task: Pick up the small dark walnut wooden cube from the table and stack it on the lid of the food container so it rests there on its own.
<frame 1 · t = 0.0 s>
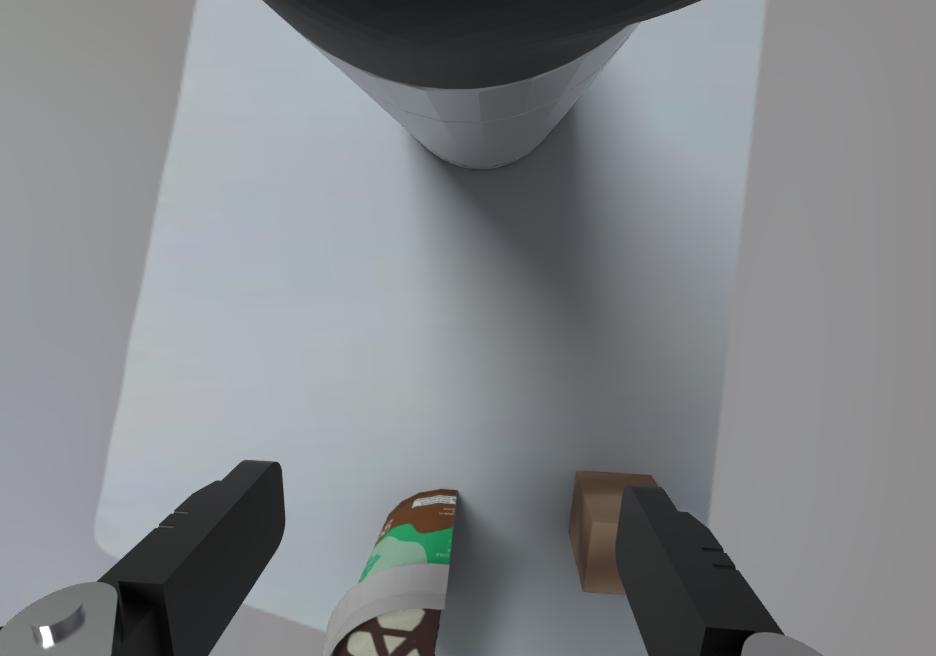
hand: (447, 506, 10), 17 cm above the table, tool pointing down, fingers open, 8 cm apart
walnut cube: (608, 503, 30), on the table
food container: (407, 536, 32), on the table
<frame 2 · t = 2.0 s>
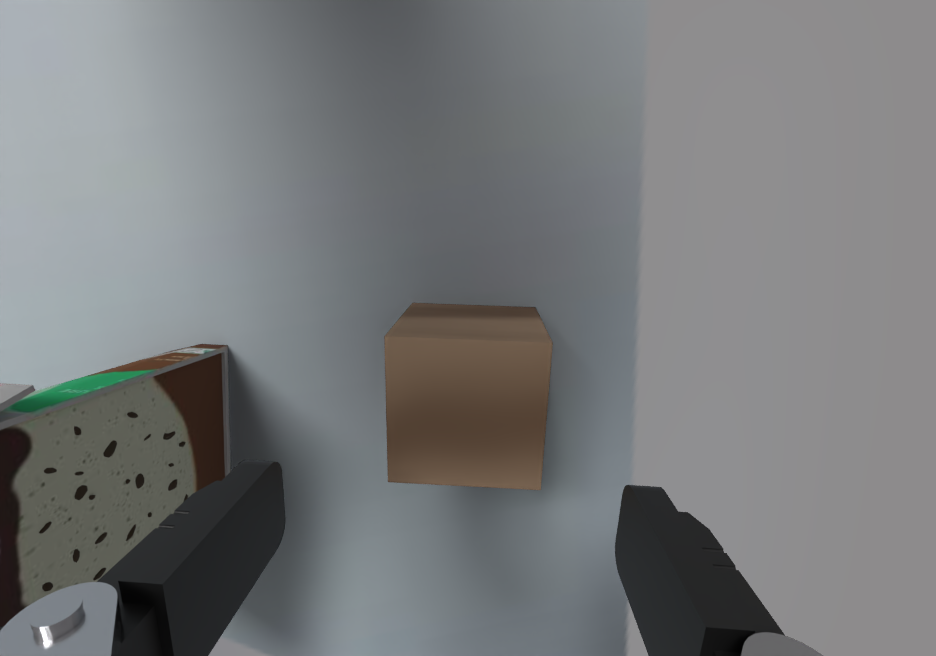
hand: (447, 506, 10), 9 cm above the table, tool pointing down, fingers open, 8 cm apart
walnut cube: (471, 362, 18), on the table
food container: (167, 430, 20), on the table
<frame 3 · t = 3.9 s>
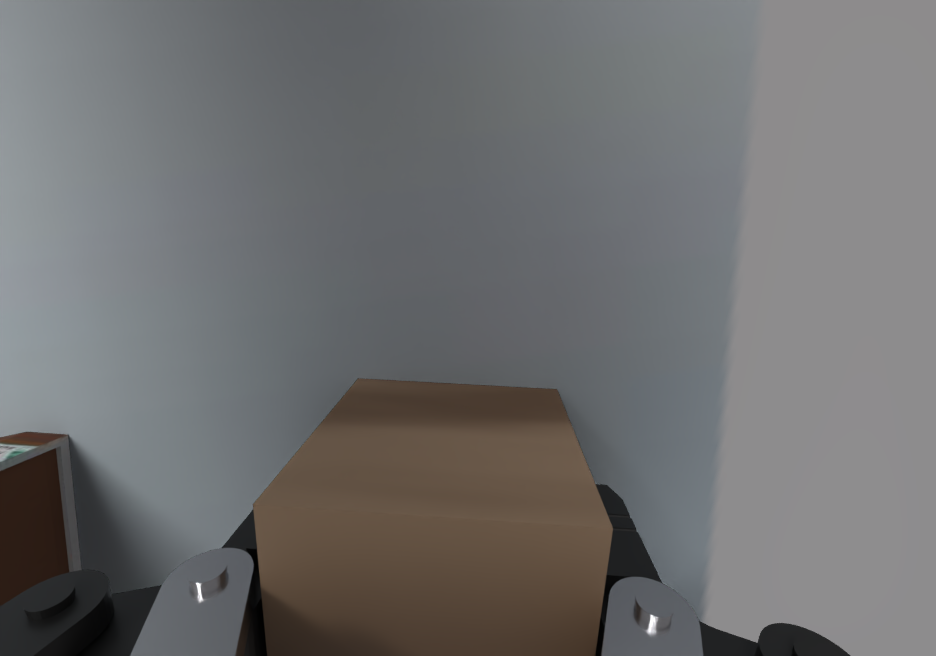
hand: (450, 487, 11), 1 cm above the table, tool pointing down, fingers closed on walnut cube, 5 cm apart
walnut cube: (453, 472, 11), on the table, touching gripper
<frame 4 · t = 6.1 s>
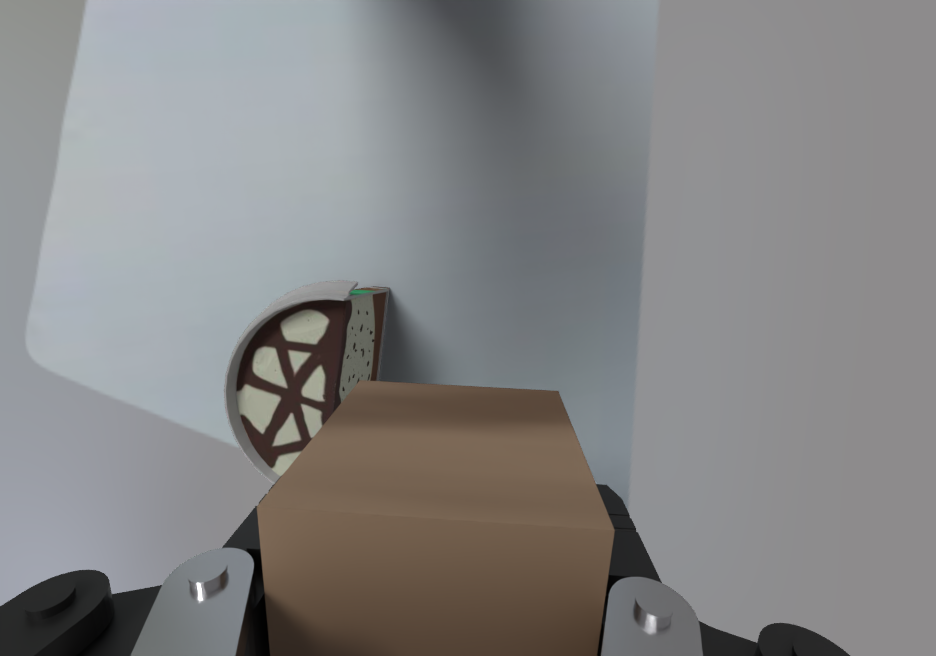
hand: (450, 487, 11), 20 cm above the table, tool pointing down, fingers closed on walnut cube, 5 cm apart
walnut cube: (454, 473, 11), point 19 cm above the table, touching gripper
food container: (341, 343, 31), on the table
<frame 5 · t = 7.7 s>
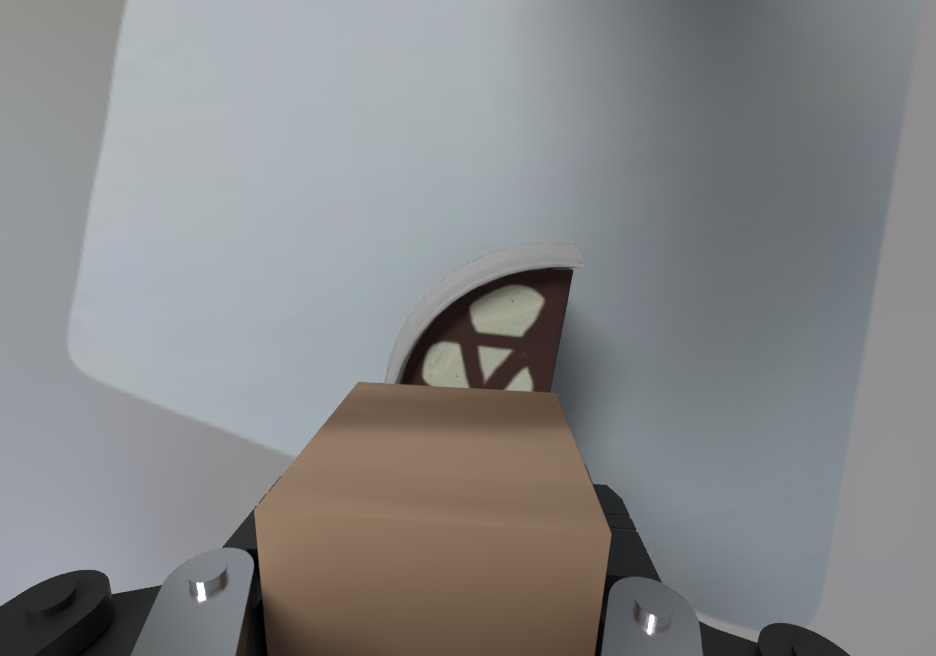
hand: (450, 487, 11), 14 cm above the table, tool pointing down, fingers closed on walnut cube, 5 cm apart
walnut cube: (453, 475, 11), point 13 cm above the table, touching gripper
food container: (472, 338, 24), on the table
when the fingers open (12 cm above the table, at t = 8.8 s): walnut cube drops 1 cm, resting on food container.
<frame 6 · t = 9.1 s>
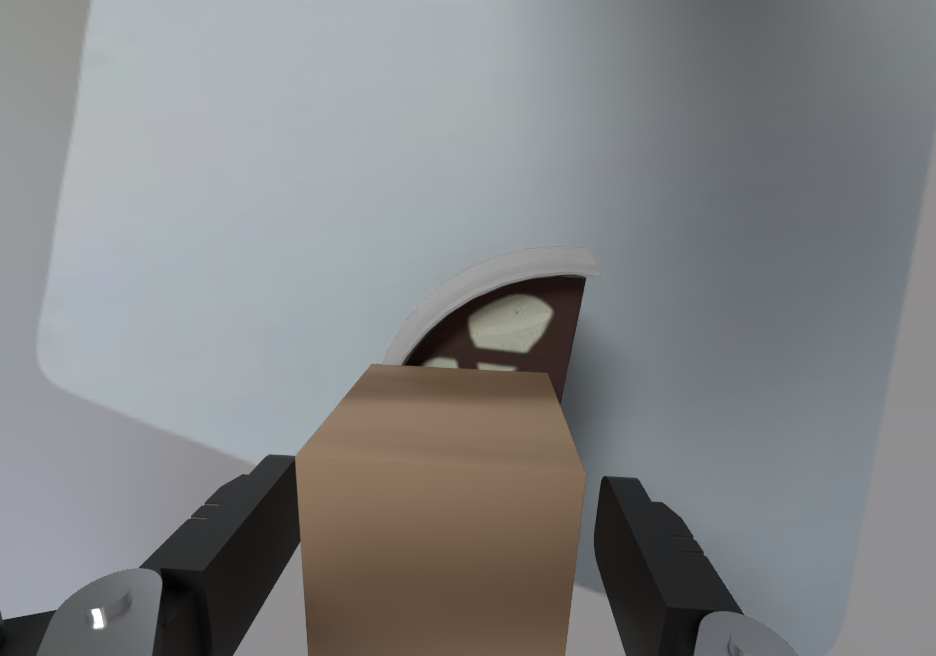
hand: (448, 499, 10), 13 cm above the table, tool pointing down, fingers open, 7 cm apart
walnut cube: (456, 448, 13), point 10 cm above the table, touching food container
food container: (471, 347, 23), on the table, touching walnut cube
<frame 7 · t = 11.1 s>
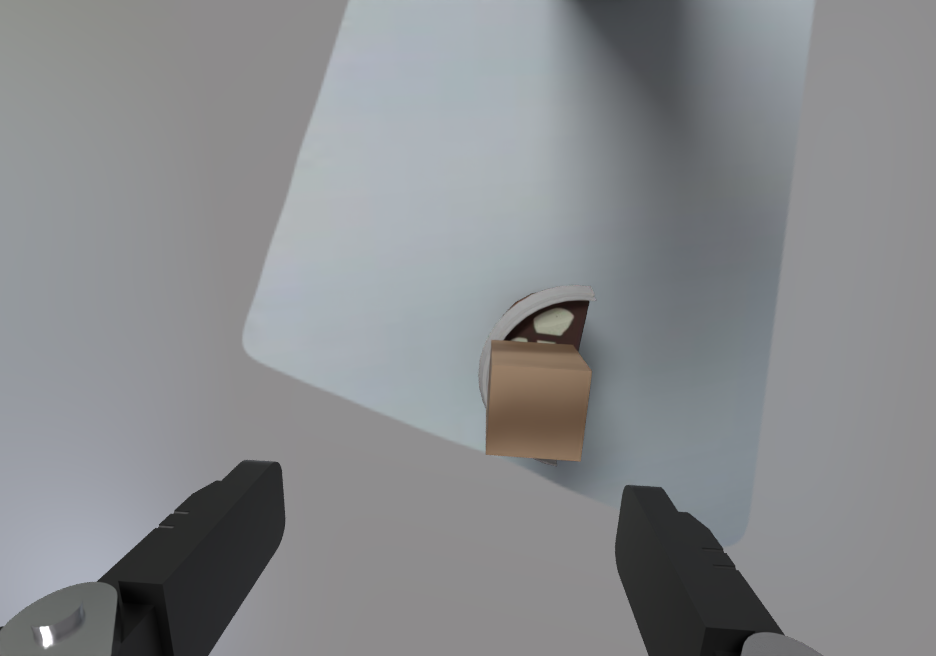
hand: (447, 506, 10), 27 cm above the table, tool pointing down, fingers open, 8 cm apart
walnut cube: (528, 380, 27), point 10 cm above the table, touching food container
food container: (516, 338, 37), on the table, touching walnut cube
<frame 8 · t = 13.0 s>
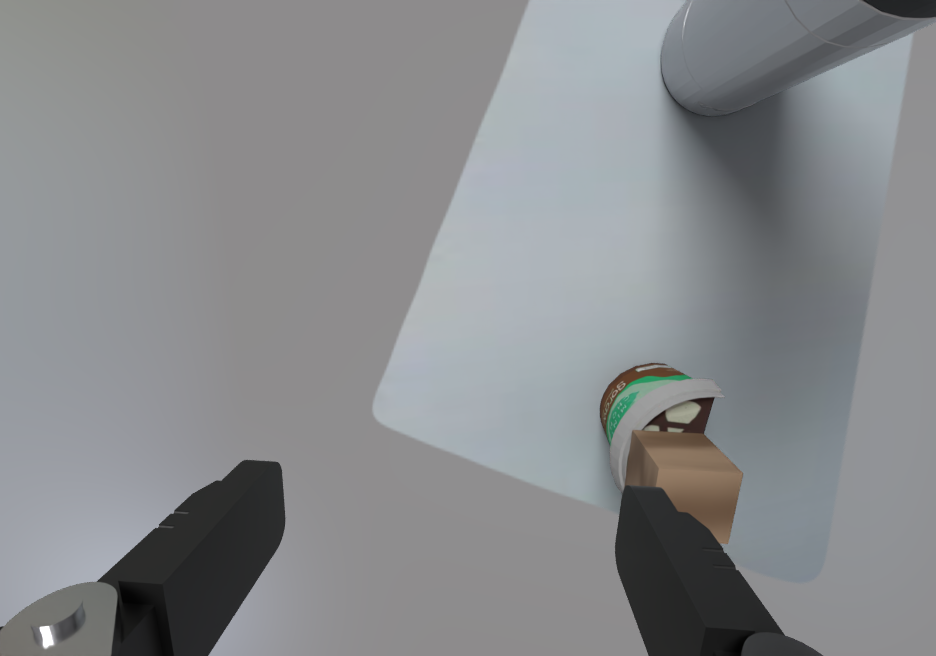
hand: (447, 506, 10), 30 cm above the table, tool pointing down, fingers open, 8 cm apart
walnut cube: (662, 462, 31), point 10 cm above the table, touching food container
food container: (619, 404, 41), on the table, touching walnut cube
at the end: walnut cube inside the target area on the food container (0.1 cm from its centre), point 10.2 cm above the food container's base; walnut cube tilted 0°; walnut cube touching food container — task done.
